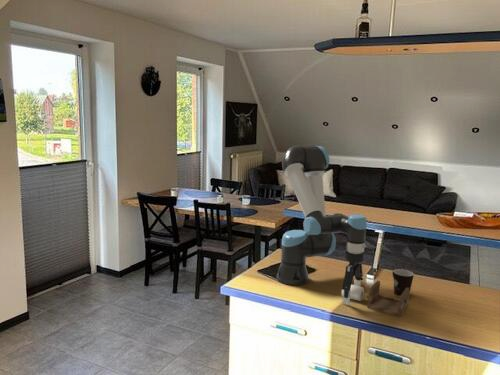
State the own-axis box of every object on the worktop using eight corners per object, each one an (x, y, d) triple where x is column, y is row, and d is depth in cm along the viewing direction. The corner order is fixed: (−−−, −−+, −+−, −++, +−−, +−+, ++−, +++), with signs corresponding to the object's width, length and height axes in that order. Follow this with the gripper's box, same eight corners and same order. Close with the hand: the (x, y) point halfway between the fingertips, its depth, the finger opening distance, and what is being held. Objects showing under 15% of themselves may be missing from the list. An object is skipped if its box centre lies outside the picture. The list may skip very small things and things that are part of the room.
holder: (366, 307, 174) (368, 289, 173) (374, 297, 184) (376, 280, 183) (401, 317, 166) (403, 298, 165) (408, 306, 176) (410, 288, 175)
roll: (340, 295, 181) (343, 282, 182) (344, 297, 186) (347, 283, 187) (358, 300, 177) (361, 286, 178) (362, 302, 182) (365, 288, 183)
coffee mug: (413, 298, 184) (415, 277, 182) (392, 296, 186) (394, 275, 184) (408, 288, 195) (410, 268, 194) (389, 286, 197) (391, 266, 195)
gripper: (354, 260, 166) (350, 311, 169) (372, 246, 186) (368, 291, 189) (336, 257, 169) (332, 306, 173) (355, 243, 190) (352, 287, 193)
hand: (351, 299), depth 181 cm, fingers open, 12 cm apart
